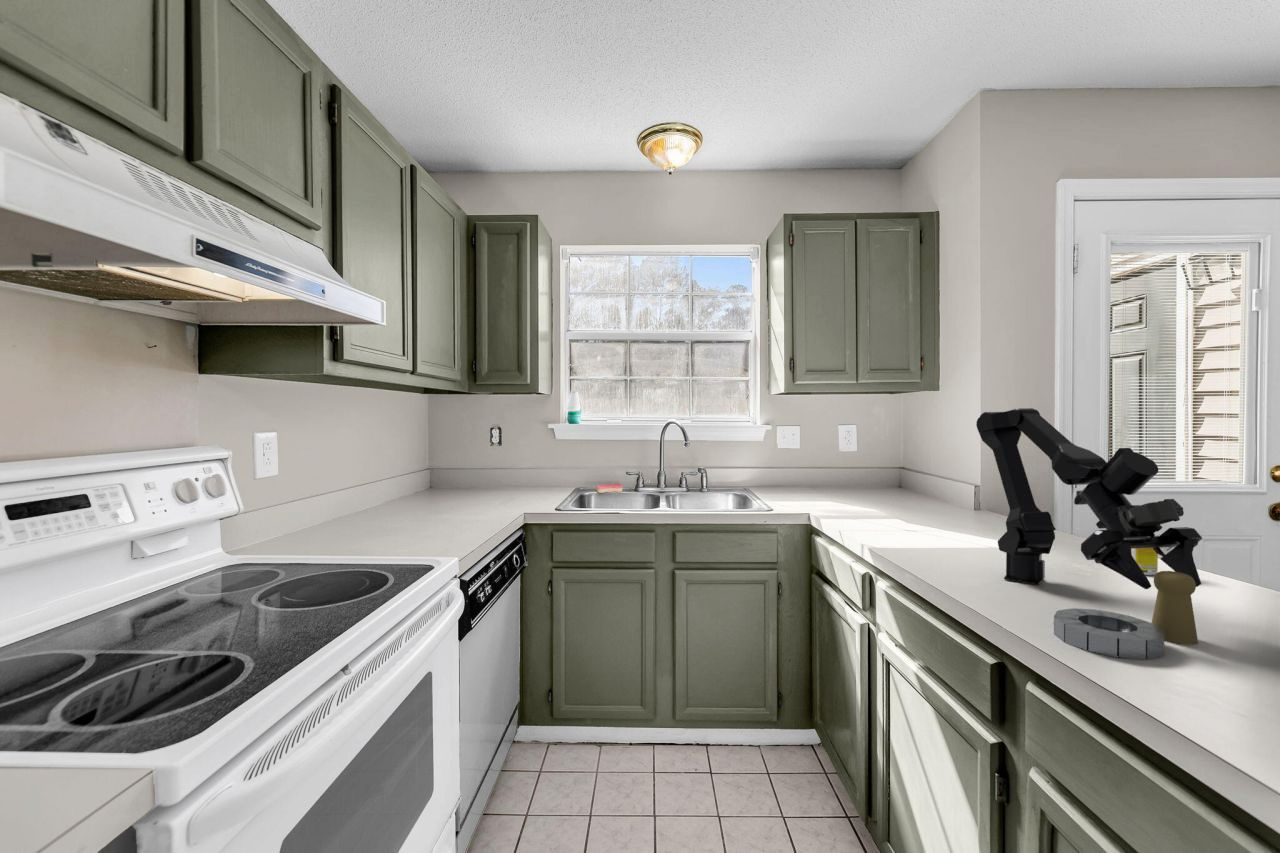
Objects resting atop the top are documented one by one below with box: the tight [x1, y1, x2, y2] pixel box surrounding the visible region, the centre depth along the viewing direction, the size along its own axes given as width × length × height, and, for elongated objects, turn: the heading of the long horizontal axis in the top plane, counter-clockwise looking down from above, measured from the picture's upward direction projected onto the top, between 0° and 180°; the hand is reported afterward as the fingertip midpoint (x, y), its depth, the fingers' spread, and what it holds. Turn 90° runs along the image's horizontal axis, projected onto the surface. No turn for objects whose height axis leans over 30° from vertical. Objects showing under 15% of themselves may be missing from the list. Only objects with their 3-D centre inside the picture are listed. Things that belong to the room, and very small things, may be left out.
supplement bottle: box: [1131, 548, 1159, 576], centre depth 135 cm, size 6×6×10 cm
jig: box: [1053, 607, 1165, 661], centre depth 96 cm, size 14×14×3 cm
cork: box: [1151, 570, 1199, 646], centre depth 97 cm, size 6×6×11 cm
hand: (1173, 586), depth 97 cm, fingers open, 9 cm apart
